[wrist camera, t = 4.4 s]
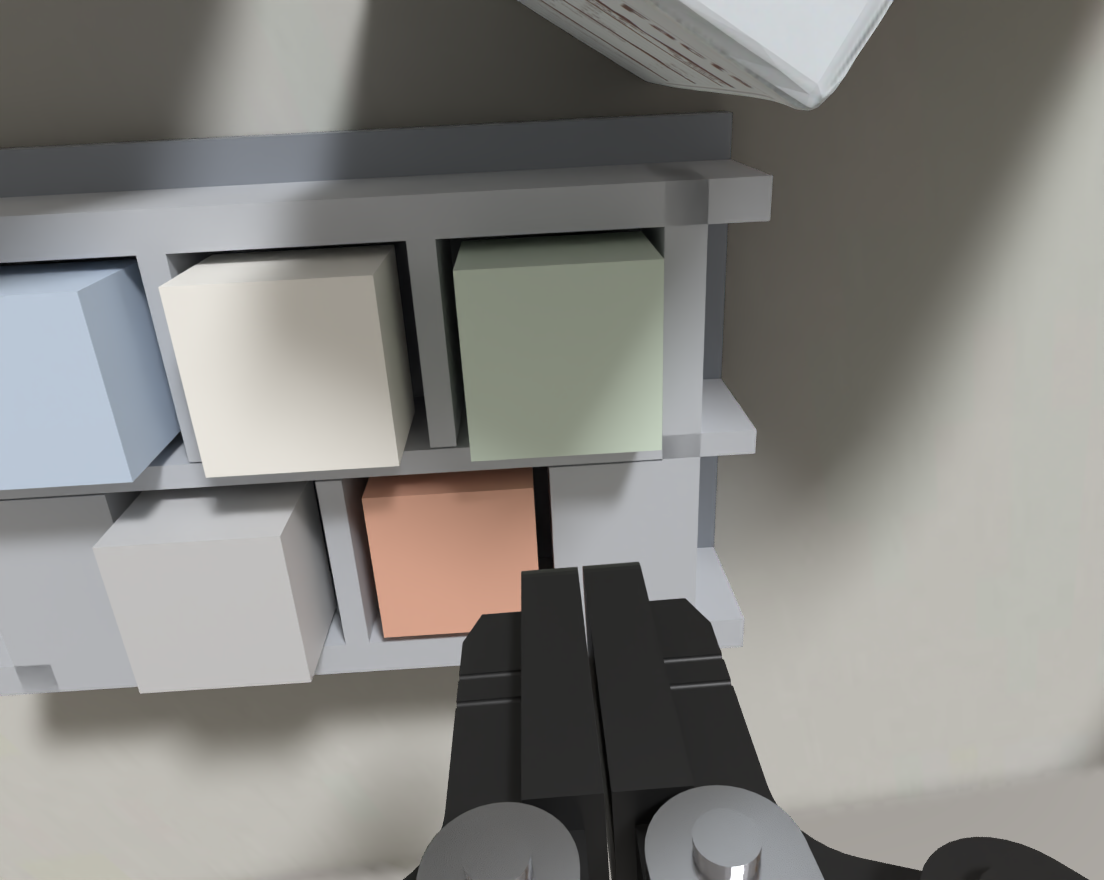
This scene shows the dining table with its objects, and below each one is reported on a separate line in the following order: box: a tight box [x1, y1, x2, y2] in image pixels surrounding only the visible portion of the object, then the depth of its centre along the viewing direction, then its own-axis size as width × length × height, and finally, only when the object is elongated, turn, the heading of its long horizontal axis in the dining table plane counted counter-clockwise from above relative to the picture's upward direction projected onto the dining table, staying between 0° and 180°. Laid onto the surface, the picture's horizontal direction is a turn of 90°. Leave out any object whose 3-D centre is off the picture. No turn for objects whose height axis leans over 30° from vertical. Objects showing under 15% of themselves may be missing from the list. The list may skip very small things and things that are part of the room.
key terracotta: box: [362, 467, 539, 638], centre depth 21 cm, size 4×4×3 cm
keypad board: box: [0, 111, 773, 696], centre depth 21 cm, size 20×14×4 cm
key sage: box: [453, 231, 664, 462], centre depth 17 cm, size 4×4×3 cm
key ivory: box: [158, 245, 415, 478], centre depth 17 cm, size 4×4×3 cm
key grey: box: [92, 480, 336, 694], centre depth 20 cm, size 4×4×3 cm
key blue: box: [0, 259, 181, 490], centre depth 17 cm, size 4×4×3 cm
